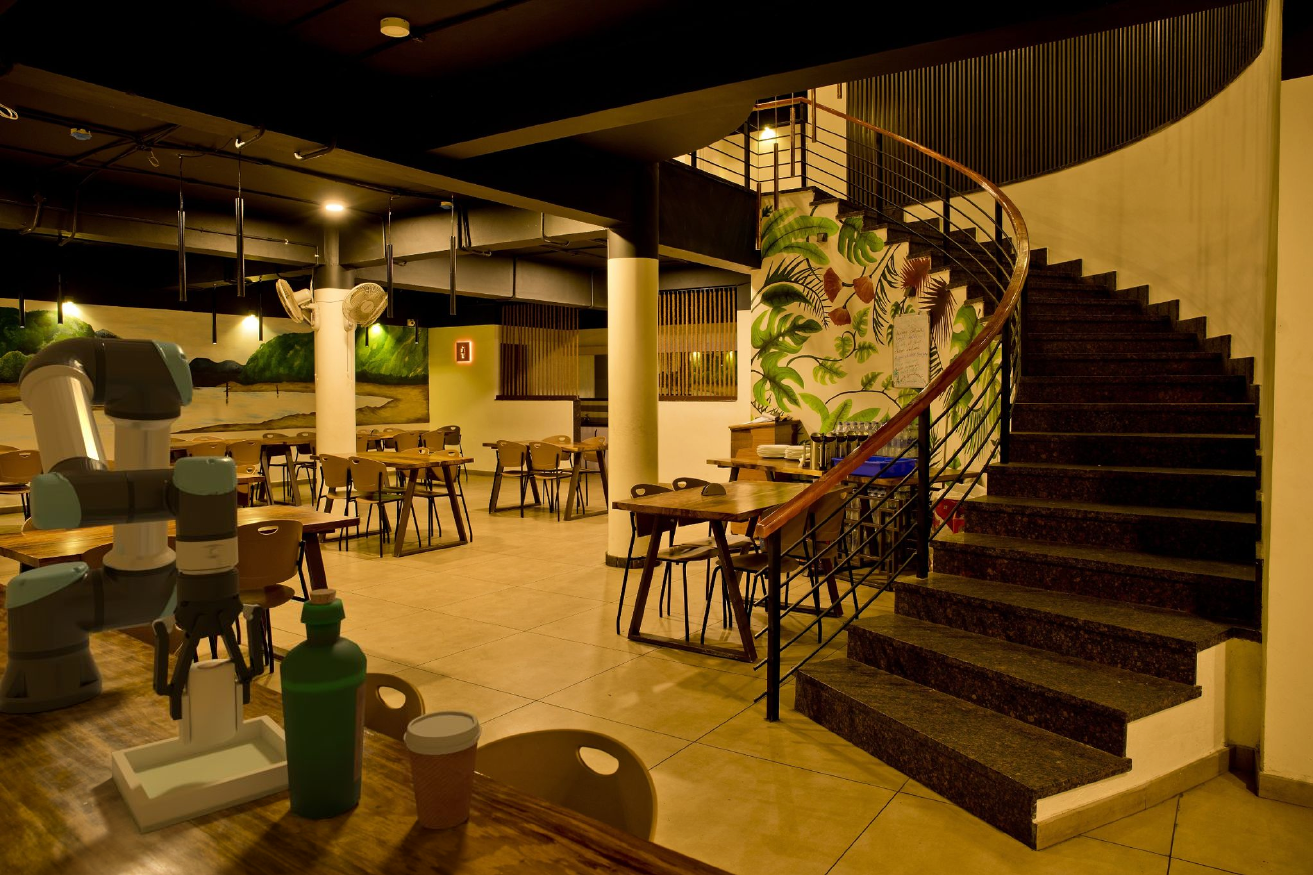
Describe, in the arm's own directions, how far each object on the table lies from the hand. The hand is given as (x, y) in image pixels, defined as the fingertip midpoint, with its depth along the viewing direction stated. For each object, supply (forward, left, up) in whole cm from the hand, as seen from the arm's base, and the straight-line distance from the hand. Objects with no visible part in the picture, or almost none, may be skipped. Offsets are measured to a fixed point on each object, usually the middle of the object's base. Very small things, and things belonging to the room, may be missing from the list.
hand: (211, 734), depth 111 cm
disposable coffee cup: (+31, +19, -7) cm, 37 cm away
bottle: (+18, +9, -7) cm, 21 cm away
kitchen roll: (0, 0, 0) cm, 0 cm away
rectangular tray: (0, 0, -6) cm, 6 cm away
